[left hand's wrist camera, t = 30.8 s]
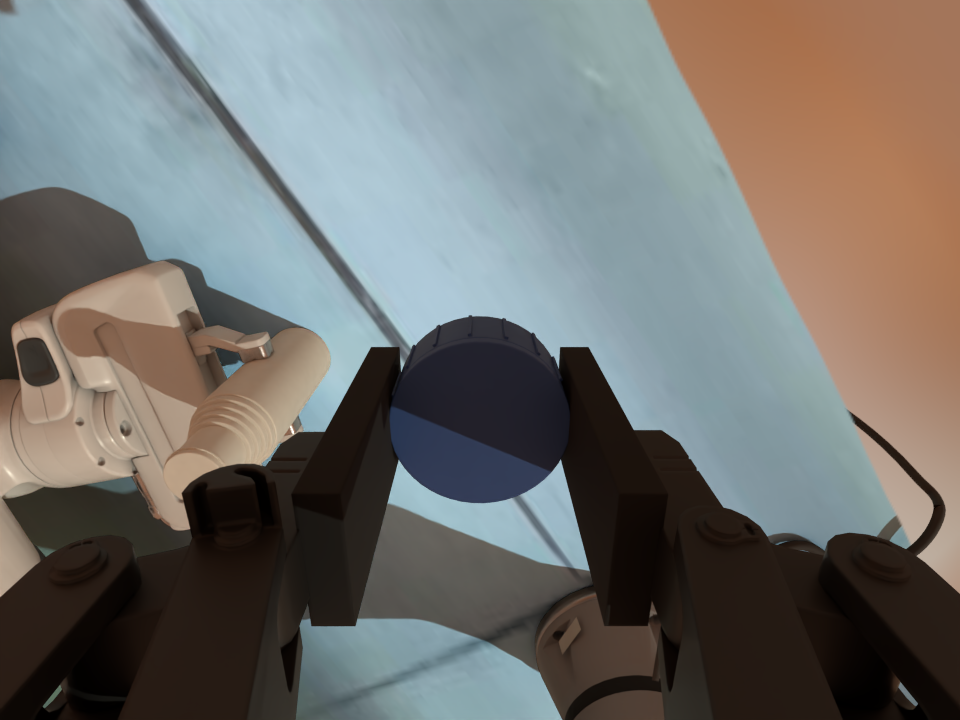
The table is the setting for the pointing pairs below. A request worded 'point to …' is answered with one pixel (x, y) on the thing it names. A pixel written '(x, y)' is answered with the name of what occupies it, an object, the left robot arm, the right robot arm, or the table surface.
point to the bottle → (250, 409)
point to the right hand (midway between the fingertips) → (283, 385)
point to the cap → (479, 411)
